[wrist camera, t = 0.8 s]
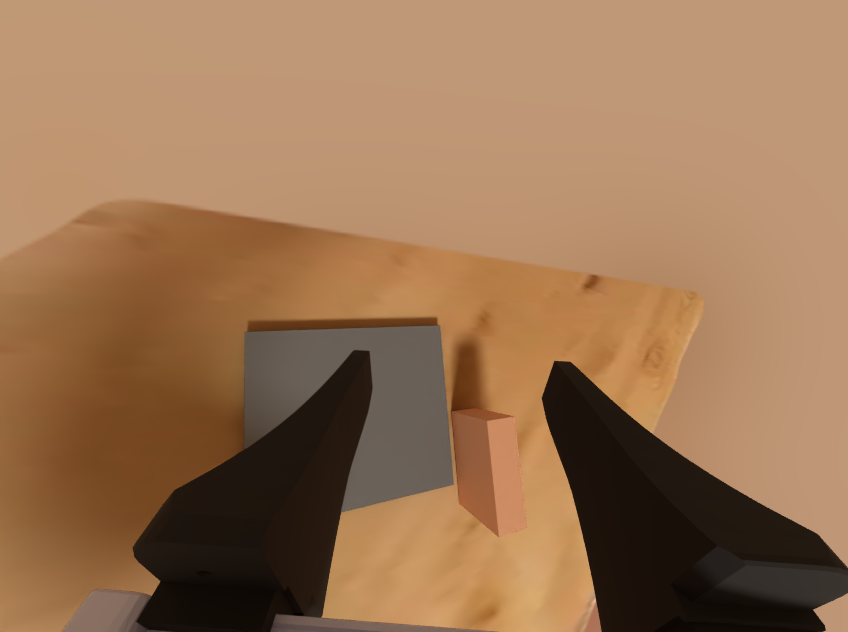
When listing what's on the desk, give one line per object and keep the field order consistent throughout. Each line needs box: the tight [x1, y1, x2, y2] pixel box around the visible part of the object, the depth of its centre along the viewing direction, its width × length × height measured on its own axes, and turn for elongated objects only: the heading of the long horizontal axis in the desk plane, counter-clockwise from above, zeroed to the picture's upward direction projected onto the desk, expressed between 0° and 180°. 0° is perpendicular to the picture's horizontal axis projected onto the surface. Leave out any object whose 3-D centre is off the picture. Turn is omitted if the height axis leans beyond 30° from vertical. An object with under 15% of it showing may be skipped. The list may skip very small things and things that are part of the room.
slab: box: [452, 408, 527, 537], centre depth 26 cm, size 8×2×6 cm, turn 5°
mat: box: [244, 325, 454, 512], centre depth 25 cm, size 14×16×1 cm
